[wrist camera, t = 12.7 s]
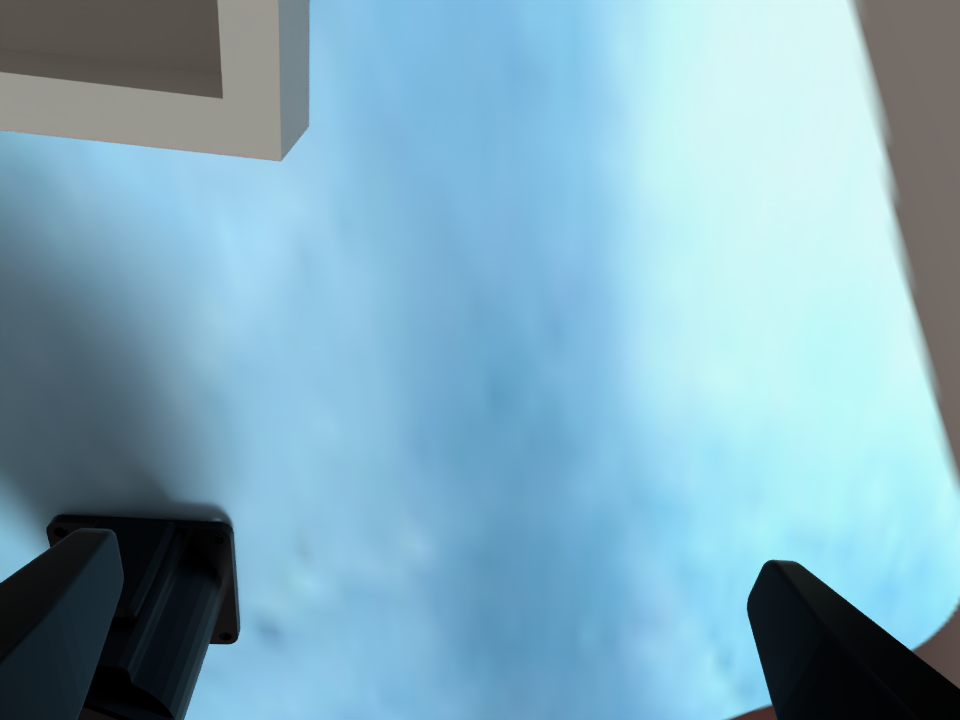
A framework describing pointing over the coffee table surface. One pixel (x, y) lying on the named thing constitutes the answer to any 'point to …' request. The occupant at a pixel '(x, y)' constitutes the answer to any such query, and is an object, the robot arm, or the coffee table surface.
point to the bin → (158, 73)
